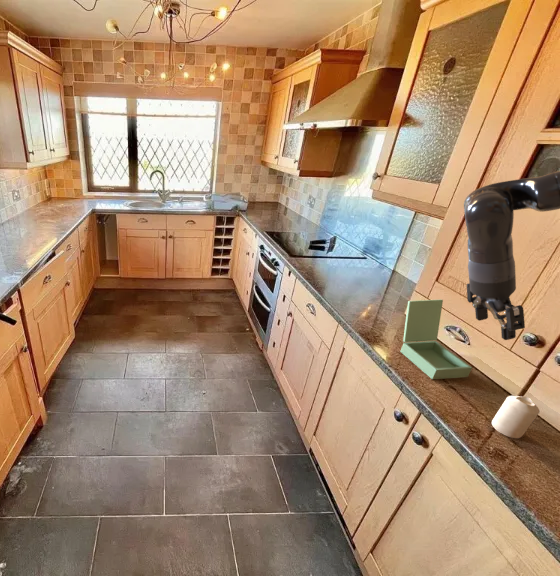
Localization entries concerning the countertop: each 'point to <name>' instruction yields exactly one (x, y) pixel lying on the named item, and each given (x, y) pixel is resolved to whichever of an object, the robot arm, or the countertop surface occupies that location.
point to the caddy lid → (422, 320)
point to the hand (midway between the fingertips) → (494, 328)
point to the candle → (515, 416)
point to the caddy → (435, 360)
